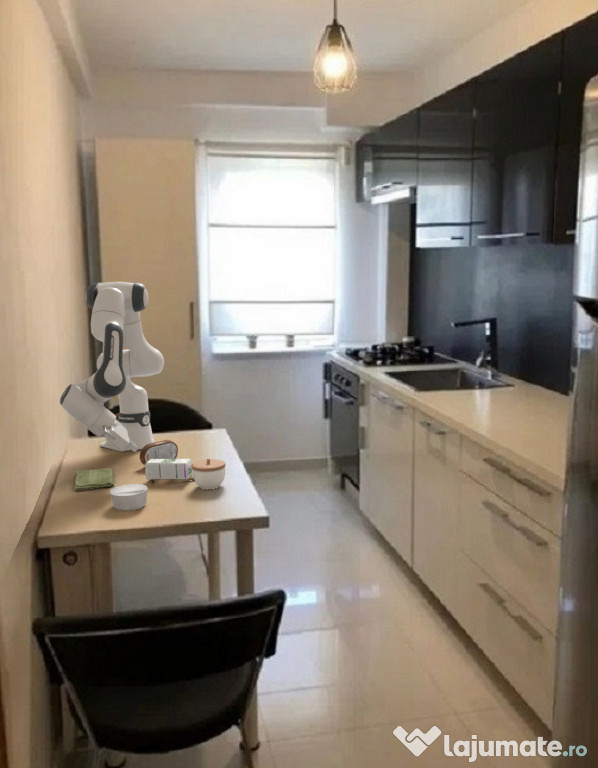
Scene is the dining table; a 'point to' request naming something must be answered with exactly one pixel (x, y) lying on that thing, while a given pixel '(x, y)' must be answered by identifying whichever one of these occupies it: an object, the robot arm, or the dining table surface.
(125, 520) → the dining table surface
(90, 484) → the washcloth
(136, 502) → the ramekin
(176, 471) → the syrup box
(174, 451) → the tin
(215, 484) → the lidded jar
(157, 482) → the cork pad
